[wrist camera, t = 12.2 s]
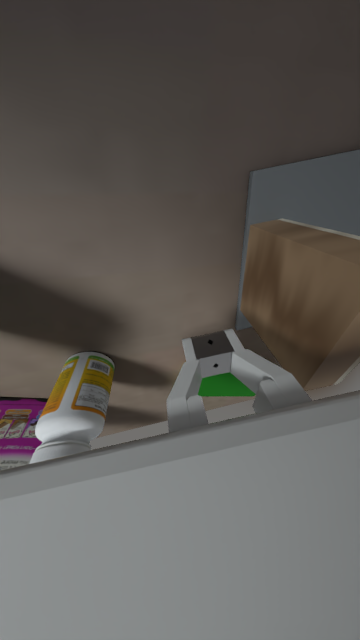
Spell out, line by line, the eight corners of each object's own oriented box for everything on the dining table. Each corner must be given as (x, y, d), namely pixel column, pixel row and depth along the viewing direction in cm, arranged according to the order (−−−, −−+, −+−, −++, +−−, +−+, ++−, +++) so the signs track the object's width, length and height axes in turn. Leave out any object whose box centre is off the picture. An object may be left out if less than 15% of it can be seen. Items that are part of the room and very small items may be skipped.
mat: (250, 171, 10) (253, 171, 10) (458, 129, 11) (467, 127, 10) (235, 328, 19) (236, 330, 19) (347, 303, 20) (350, 305, 19)
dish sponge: (191, 354, 22) (195, 369, 20) (270, 360, 26) (280, 374, 24) (177, 382, 26) (179, 397, 24) (247, 384, 30) (254, 396, 28)
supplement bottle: (74, 378, 21) (32, 483, 14) (59, 350, 18) (-5, 469, 10) (117, 375, 22) (101, 471, 15) (112, 349, 19) (87, 456, 11)
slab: (250, 224, 12) (385, 274, 5) (282, 218, 12) (460, 259, 5) (240, 310, 17) (301, 392, 10) (262, 305, 17) (338, 383, 10)
